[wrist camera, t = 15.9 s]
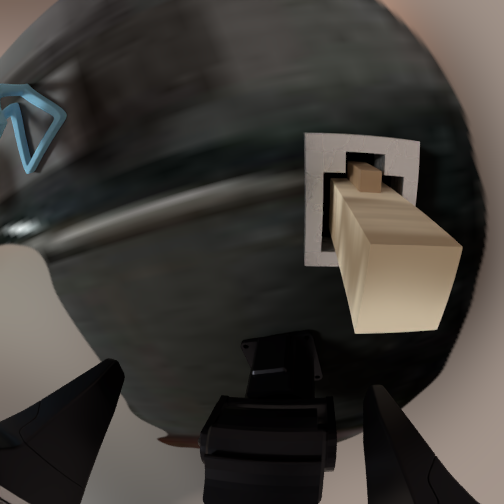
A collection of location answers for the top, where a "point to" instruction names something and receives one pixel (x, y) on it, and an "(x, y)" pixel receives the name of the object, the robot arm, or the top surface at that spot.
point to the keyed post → (389, 255)
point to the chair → (17, 121)
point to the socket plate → (334, 160)
